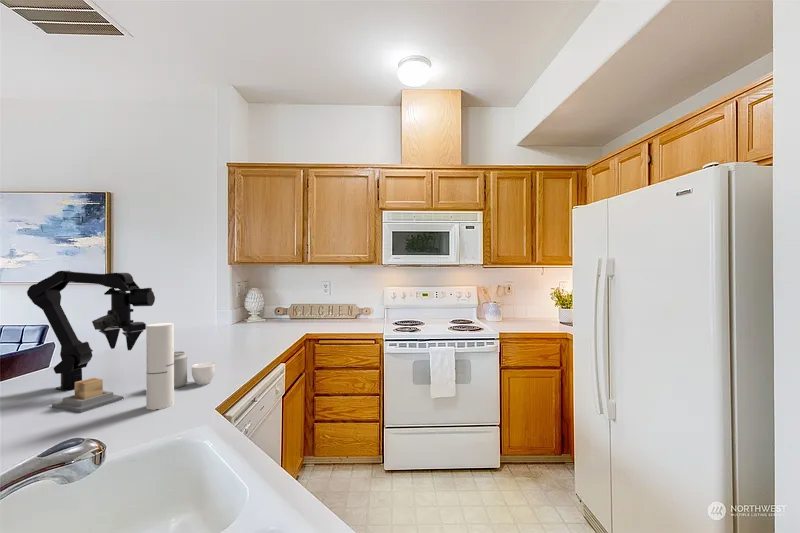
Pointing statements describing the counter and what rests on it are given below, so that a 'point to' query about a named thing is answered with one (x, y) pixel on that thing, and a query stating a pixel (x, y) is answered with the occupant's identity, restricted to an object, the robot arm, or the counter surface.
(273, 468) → the counter surface
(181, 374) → the can
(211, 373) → the cup
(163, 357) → the cylindrical container
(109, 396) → the grey tray
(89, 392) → the oak block
